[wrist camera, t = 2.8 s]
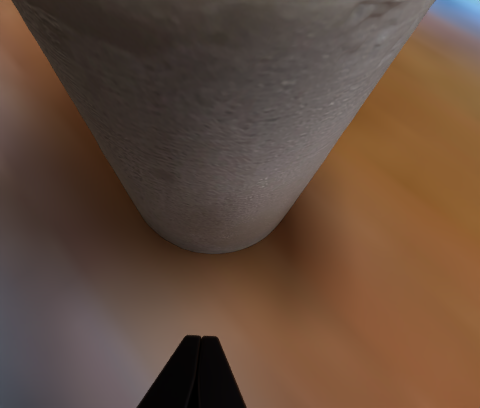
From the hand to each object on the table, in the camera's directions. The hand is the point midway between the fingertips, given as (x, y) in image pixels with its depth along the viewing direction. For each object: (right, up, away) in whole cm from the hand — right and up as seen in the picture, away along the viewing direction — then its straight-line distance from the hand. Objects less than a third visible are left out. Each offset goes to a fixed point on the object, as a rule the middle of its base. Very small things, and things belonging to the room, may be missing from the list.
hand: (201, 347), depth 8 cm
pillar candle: (0, +5, +10) cm, 11 cm away
